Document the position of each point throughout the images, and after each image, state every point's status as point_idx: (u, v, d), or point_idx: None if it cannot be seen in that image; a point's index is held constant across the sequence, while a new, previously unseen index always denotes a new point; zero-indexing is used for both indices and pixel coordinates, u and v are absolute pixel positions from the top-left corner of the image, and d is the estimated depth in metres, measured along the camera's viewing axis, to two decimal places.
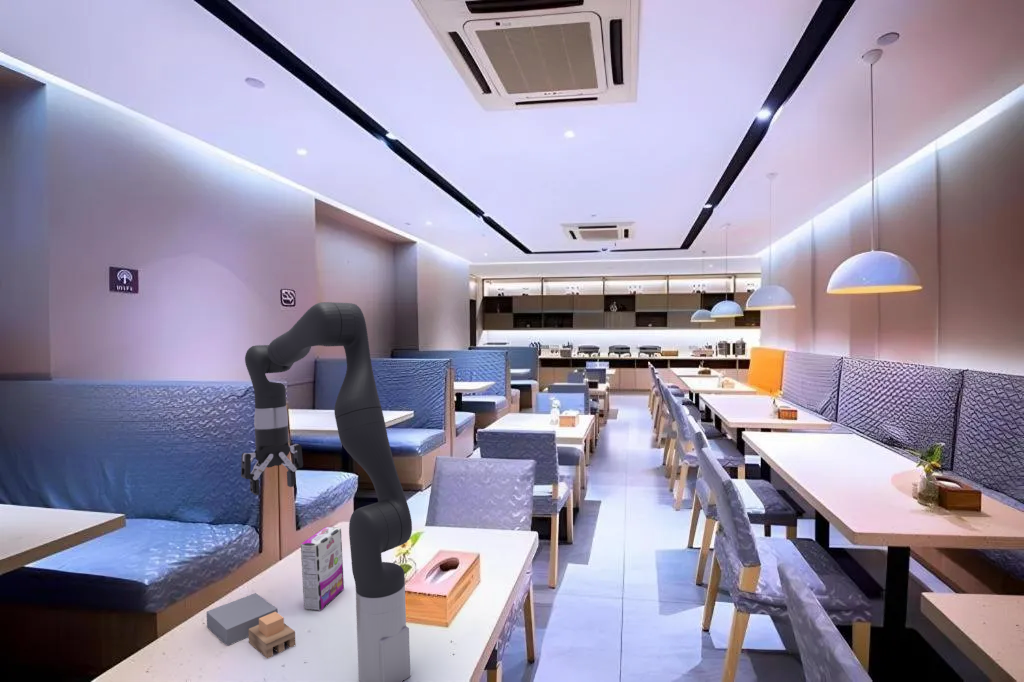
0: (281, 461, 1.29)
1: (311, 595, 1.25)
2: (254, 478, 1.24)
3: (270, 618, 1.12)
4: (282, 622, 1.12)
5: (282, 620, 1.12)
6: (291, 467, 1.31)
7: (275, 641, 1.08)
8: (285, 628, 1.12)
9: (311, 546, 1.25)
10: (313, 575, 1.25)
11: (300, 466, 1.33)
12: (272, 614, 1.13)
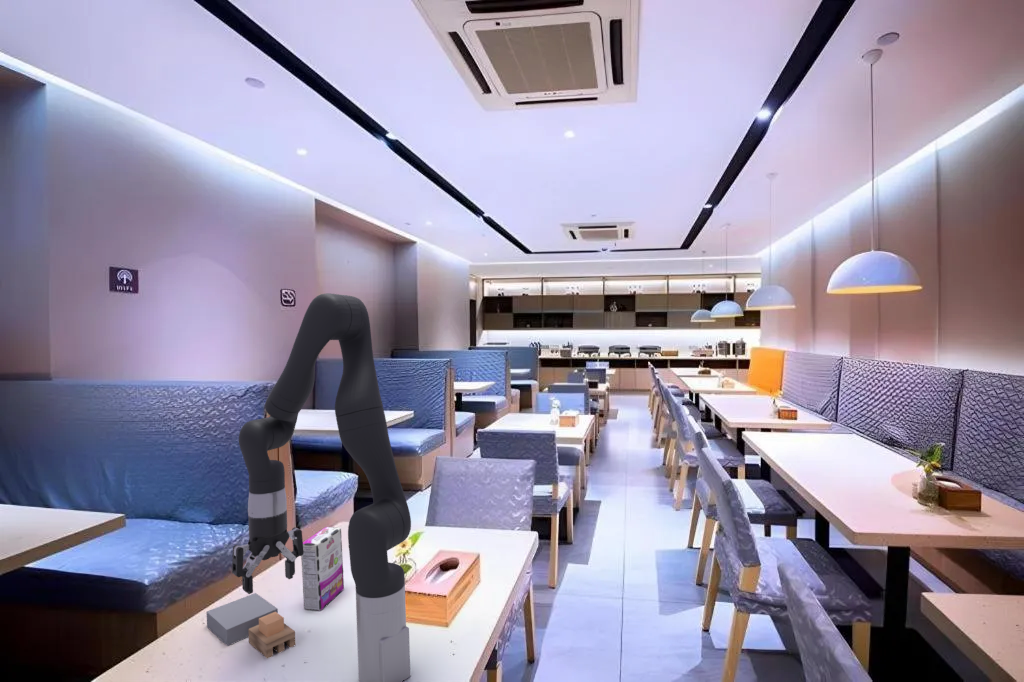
0: (278, 551, 1.12)
1: (311, 595, 1.25)
2: (247, 575, 1.07)
3: (270, 618, 1.12)
4: (282, 622, 1.12)
5: (282, 620, 1.12)
6: (290, 557, 1.14)
7: (275, 641, 1.08)
8: (285, 628, 1.12)
9: (311, 546, 1.25)
10: (313, 575, 1.25)
11: (300, 554, 1.16)
12: (272, 614, 1.13)
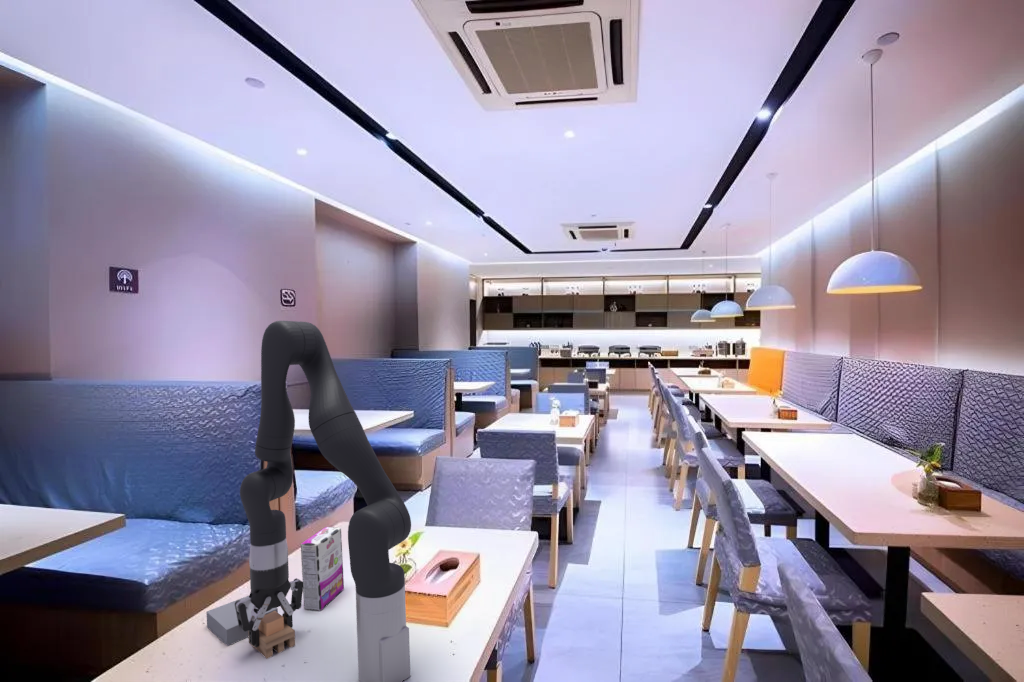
0: (278, 602, 1.12)
1: (311, 595, 1.25)
2: (254, 629, 1.08)
3: (270, 617, 1.12)
4: (282, 621, 1.12)
5: (282, 619, 1.12)
6: (287, 611, 1.13)
7: (275, 640, 1.08)
8: (285, 627, 1.12)
9: (311, 546, 1.25)
10: (313, 575, 1.25)
11: (297, 607, 1.15)
12: (272, 613, 1.13)
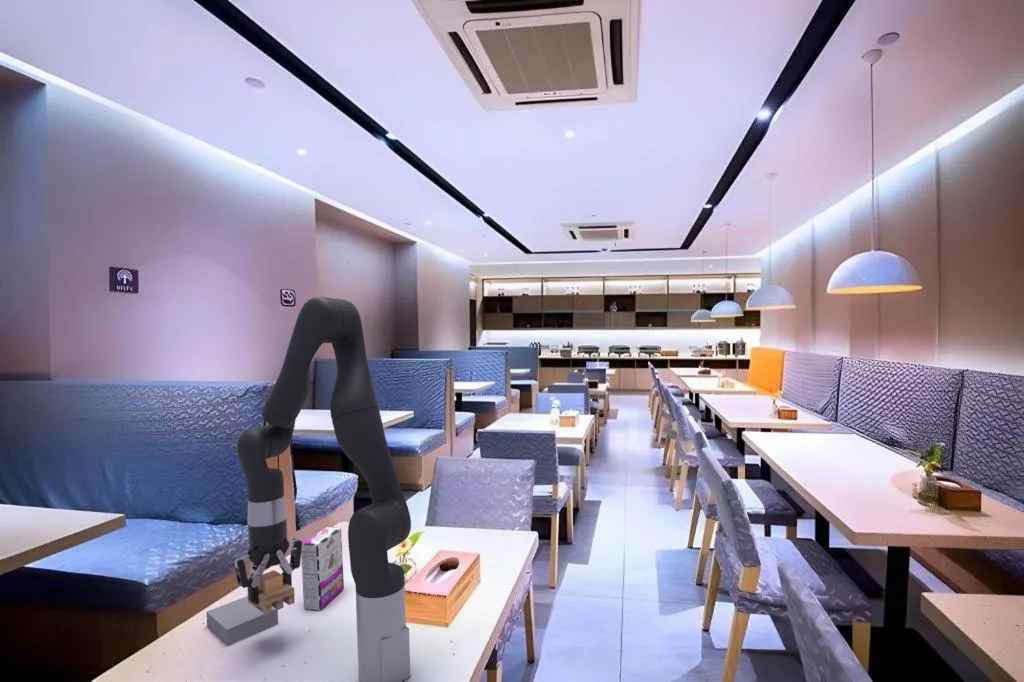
0: (277, 560, 1.12)
1: (311, 595, 1.25)
2: (253, 586, 1.08)
3: (269, 575, 1.11)
4: (281, 579, 1.11)
5: (281, 577, 1.11)
6: (286, 569, 1.13)
7: (274, 597, 1.08)
8: (284, 586, 1.12)
9: (311, 546, 1.25)
10: (313, 575, 1.25)
11: (296, 567, 1.15)
12: (271, 572, 1.13)
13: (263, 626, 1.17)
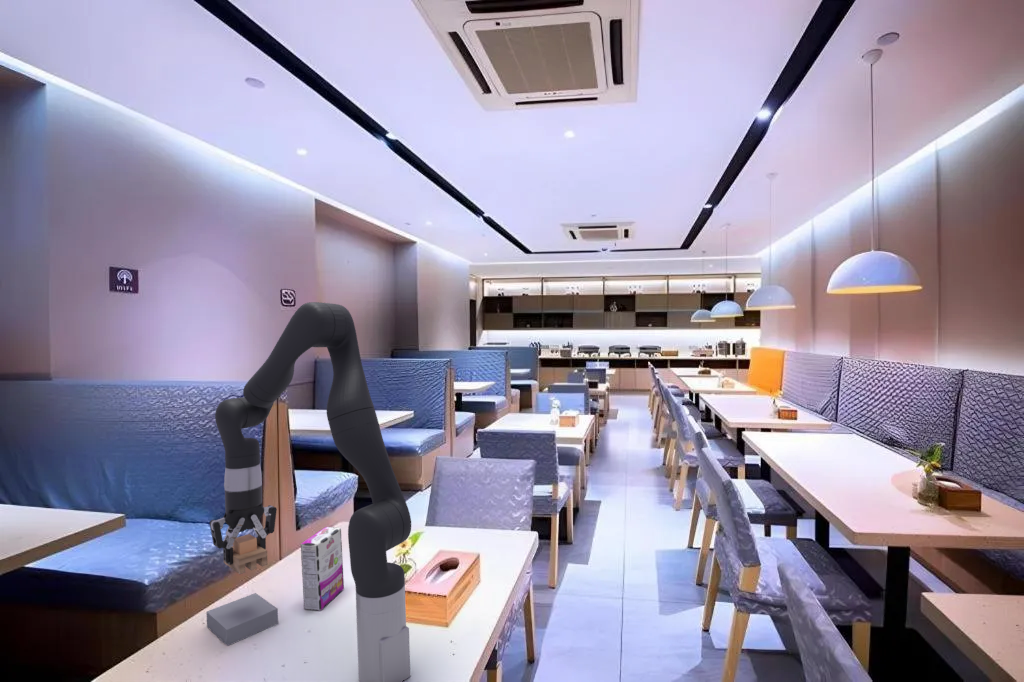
0: (252, 525, 1.18)
1: (311, 595, 1.25)
2: (228, 547, 1.14)
3: (244, 538, 1.18)
4: (255, 542, 1.18)
5: (255, 540, 1.18)
6: (261, 533, 1.19)
7: (247, 558, 1.14)
8: (258, 549, 1.18)
9: (311, 546, 1.25)
10: (313, 575, 1.25)
11: (271, 531, 1.21)
12: (246, 536, 1.19)
13: (263, 626, 1.17)
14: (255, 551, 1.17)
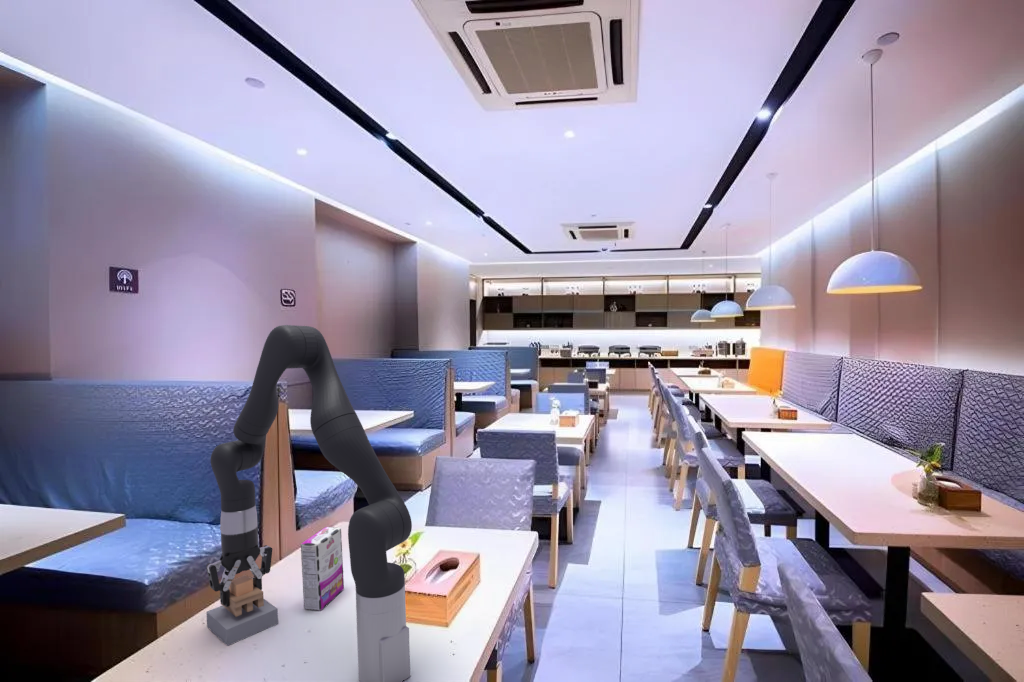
0: (248, 566, 1.20)
1: (311, 595, 1.25)
2: (224, 589, 1.16)
3: (240, 580, 1.19)
4: (251, 583, 1.19)
5: (251, 581, 1.19)
6: (257, 574, 1.21)
7: (244, 600, 1.16)
8: (254, 589, 1.20)
9: (311, 546, 1.25)
10: (313, 575, 1.25)
11: (267, 572, 1.23)
12: (242, 576, 1.21)
13: (263, 626, 1.17)
14: (251, 592, 1.19)
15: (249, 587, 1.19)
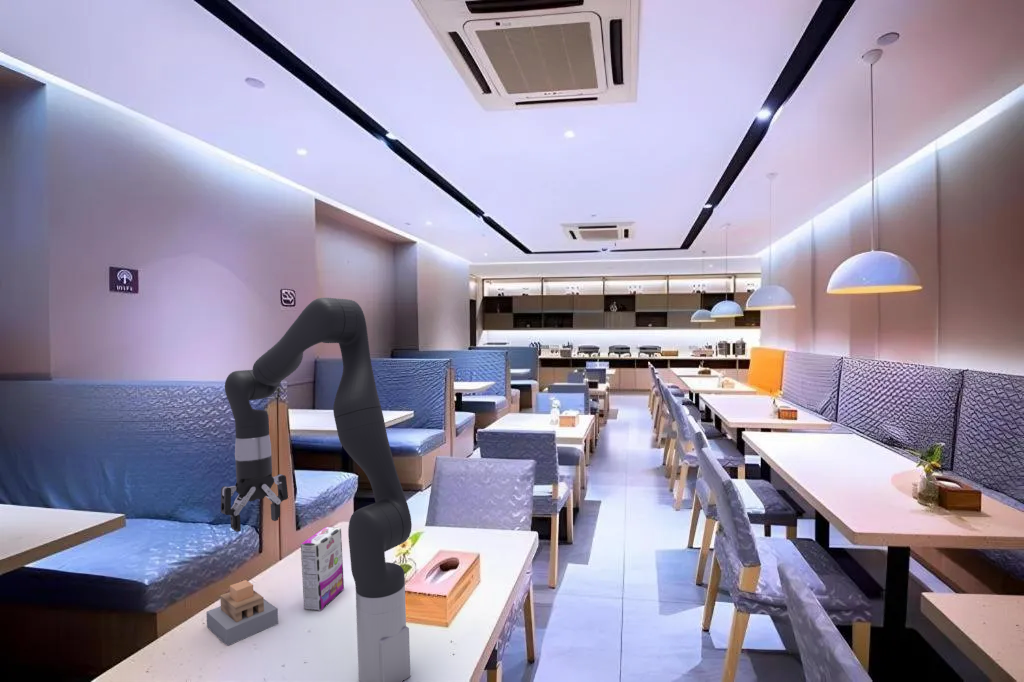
0: (264, 494, 1.21)
1: (311, 595, 1.25)
2: (235, 514, 1.16)
3: (240, 585, 1.19)
4: (251, 589, 1.19)
5: (251, 587, 1.19)
6: (275, 500, 1.23)
7: (244, 605, 1.16)
8: (254, 595, 1.20)
9: (311, 546, 1.25)
10: (313, 575, 1.25)
11: (285, 498, 1.24)
12: (242, 582, 1.21)
13: (263, 626, 1.17)
14: (251, 598, 1.19)
15: (249, 592, 1.19)
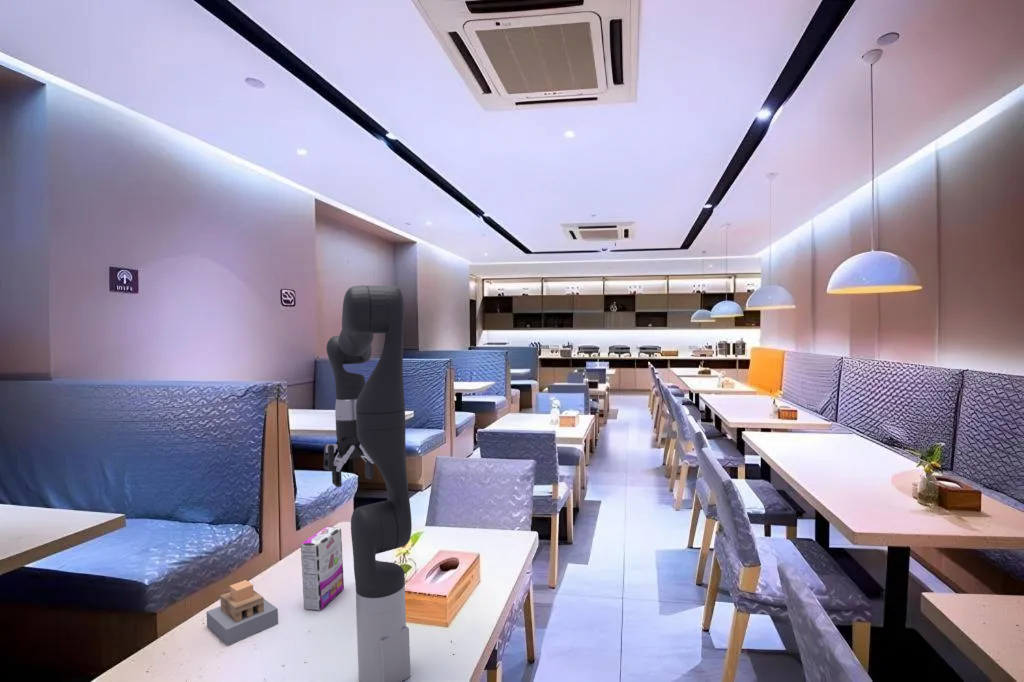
0: (361, 453, 1.28)
1: (311, 595, 1.25)
2: (337, 470, 1.23)
3: (240, 585, 1.19)
4: (251, 589, 1.19)
5: (251, 587, 1.19)
6: (370, 459, 1.30)
7: (244, 605, 1.16)
8: (254, 595, 1.20)
9: (311, 546, 1.25)
10: (313, 575, 1.25)
11: None
12: (242, 582, 1.21)
13: (263, 626, 1.17)
14: (251, 598, 1.19)
15: (249, 592, 1.19)
